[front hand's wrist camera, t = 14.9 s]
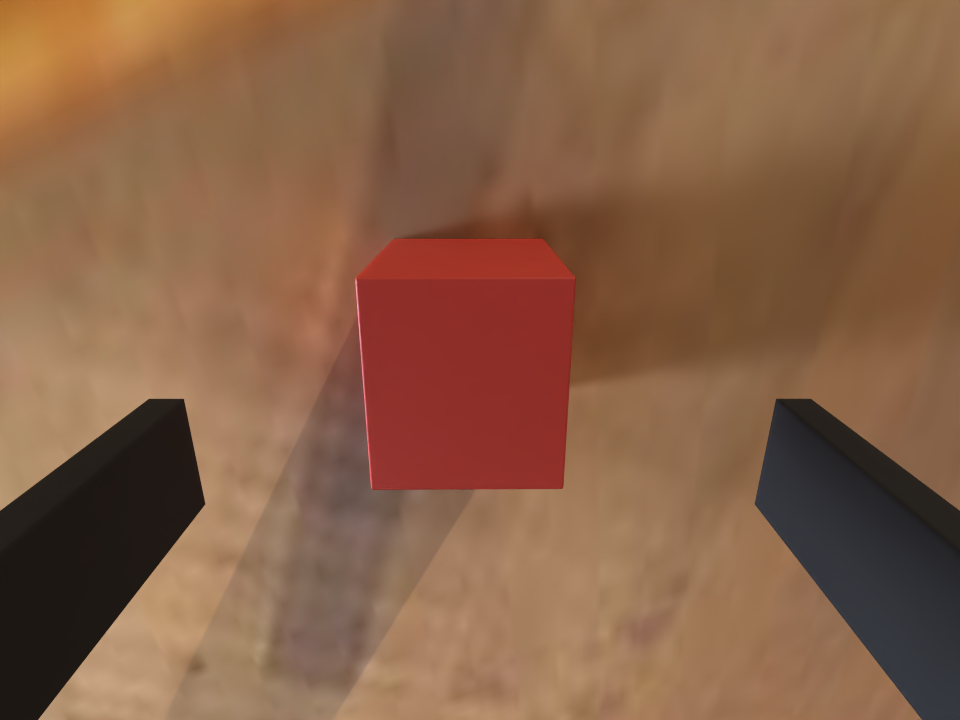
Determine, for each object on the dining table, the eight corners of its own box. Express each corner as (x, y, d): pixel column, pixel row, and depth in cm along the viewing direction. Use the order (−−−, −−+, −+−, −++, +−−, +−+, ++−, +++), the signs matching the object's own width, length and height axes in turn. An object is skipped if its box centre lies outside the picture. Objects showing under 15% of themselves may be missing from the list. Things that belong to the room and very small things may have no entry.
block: (401, 392, 25) (370, 490, 18) (393, 238, 22) (354, 277, 15) (537, 392, 25) (563, 489, 18) (543, 238, 23) (576, 277, 15)
